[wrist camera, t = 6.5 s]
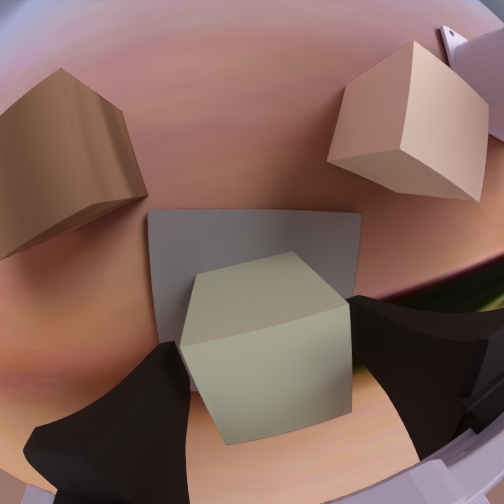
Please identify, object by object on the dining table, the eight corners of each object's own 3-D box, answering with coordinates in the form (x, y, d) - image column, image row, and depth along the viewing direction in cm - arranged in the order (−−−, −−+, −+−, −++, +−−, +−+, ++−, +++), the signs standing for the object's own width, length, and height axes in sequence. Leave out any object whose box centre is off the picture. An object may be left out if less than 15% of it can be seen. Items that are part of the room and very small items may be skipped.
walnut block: (122, 111, 11) (60, 67, 5) (148, 195, 12) (92, 204, 6) (51, 152, 11) (-27, 143, 5) (74, 230, 12) (-1, 261, 6)
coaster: (356, 212, 13) (361, 213, 13) (332, 375, 15) (335, 380, 15) (150, 209, 12) (147, 210, 11) (168, 383, 14) (167, 390, 14)
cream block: (411, 121, 12) (488, 105, 7) (396, 192, 13) (479, 202, 7) (345, 85, 12) (413, 40, 6) (326, 161, 12) (399, 148, 7)
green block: (292, 251, 13) (349, 304, 7) (306, 333, 14) (351, 412, 8) (196, 274, 12) (179, 347, 7) (221, 354, 13) (226, 445, 8)
